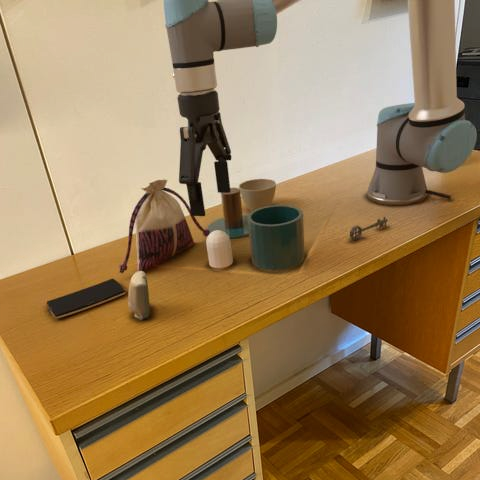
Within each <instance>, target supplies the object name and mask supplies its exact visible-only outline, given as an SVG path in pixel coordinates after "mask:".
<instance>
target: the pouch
mask: <svg viewBox="0 0 480 480" xmlns="http://www.w3.org/2000/svg"><path fill="white" fill-rule="evenodd" d="M167 183H168V179H167V178H163V179H156V180H154V181H152V182H149V183H148V186H146V187H140V189H141V190H142V191H144V192H145V193H143V195H142V197H141V198H140V199H139V200H138V202H136V205H135V207H134V209H133V211H132V213H131V216H130V219H129V227H128V242H127V251H126V254H125V258H124V260H123V263H121V264H119V267H118V269H119V272H118V273H120V274H124V273H125V271H127V270H128V265H127V264H128V262H129V259H130V254H131V249H132V242H133V235H134V234H133V233H134V229H135V246H136V247H135V248H136V260H137V261H136V264H137V265H136V266H137V272H138V271H143V272H145V273H146V271H148V270H150V269H152V268H154V267H156V266H157V265H159V264H161V263H163V262H164V261H167V260H168V259H170V258H172V257H175V256H176V255H178V254H180V253H182V252H184V251H186V250H187V249H190V248H192V247H193V246H195V240H194V238H193V235H192V233H191V229H190V227H189V223H188V221H187V219H186V216H185V214H184V211H183V209H182V207H181V205H180V203H179V202H178V200H177V199H176V198H175V197H177V198H178V199H179V200H180V201H181V203H183V205H184V206H185V208H186V210H187V211H188V214H189V216H190V218H191V219H192V222H193V223H194V225H195V226H196V227H197V228H198V229H199V230H200V231H201V232H202V235H203V236H204V237H208V235H209V234H210V231H209V230H208V229H207V228H206V229H204V228H203V227H202V226H201V224H200V223H199V221H198V220H197V218H196V216H191V210H190V205H188V204H189V203H187V201H186V200H185V199H184V198H183V197H182V195H180V194H179V193H178V192H176V191H175V190H173V189H171V188H168V187H166V185H167ZM171 194H172V195H174V196H172V195H171Z"/></svg>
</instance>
